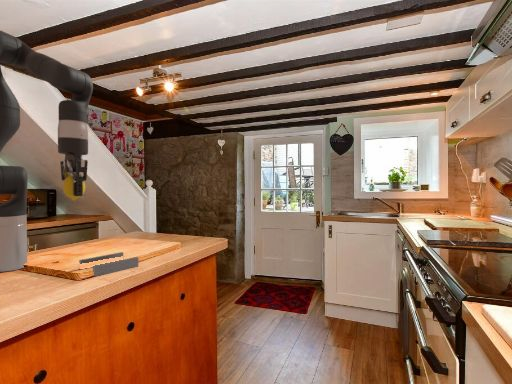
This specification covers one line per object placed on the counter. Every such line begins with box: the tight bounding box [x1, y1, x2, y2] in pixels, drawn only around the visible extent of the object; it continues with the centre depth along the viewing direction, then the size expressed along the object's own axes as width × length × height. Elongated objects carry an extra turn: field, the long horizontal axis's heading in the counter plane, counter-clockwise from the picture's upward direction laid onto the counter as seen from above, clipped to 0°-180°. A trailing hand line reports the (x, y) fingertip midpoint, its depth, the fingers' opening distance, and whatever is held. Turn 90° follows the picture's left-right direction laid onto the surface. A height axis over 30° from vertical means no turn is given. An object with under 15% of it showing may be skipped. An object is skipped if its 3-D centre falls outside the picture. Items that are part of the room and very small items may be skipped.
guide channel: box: [78, 251, 139, 277], centre depth 96 cm, size 11×14×3 cm
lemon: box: [62, 175, 86, 201], centre depth 86 cm, size 6×6×8 cm
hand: (73, 195), depth 86 cm, fingers closed on lemon, 5 cm apart
